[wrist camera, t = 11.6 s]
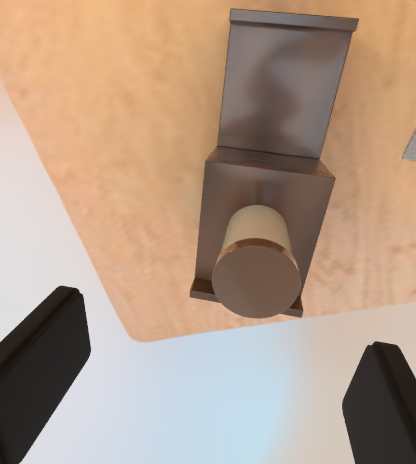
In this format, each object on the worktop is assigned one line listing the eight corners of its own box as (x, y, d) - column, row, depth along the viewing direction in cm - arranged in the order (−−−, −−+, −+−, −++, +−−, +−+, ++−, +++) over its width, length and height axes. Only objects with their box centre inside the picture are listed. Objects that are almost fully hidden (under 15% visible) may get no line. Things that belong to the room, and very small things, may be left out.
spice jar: (296, 208, 24) (310, 253, 17) (282, 265, 26) (289, 326, 19) (228, 198, 24) (216, 238, 17) (221, 255, 27) (207, 310, 20)
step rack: (343, 30, 27) (404, -16, 15) (288, 247, 37) (301, 318, 26) (235, 21, 28) (217, -28, 17) (211, 235, 38) (189, 297, 27)
